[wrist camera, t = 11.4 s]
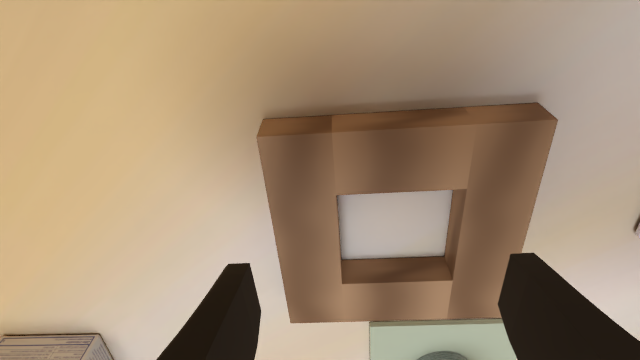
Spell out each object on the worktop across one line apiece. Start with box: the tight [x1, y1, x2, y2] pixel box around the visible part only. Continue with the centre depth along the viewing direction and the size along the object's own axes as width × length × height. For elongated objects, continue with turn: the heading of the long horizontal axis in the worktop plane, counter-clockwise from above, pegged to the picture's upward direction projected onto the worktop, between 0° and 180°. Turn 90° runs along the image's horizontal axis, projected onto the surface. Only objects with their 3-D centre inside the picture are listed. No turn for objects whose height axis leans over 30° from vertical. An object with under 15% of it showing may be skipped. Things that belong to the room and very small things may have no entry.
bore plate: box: [257, 103, 558, 323], centre depth 22 cm, size 14×14×2 cm
